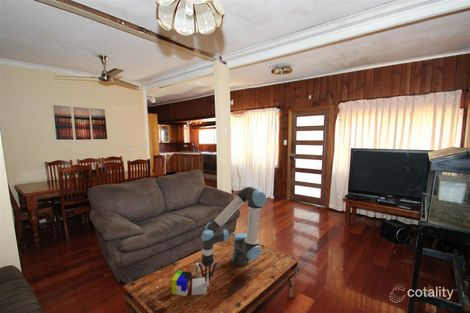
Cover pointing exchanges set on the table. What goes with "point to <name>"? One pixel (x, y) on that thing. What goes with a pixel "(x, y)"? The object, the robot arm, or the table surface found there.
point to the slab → (199, 286)
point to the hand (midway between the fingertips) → (207, 285)
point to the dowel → (197, 270)
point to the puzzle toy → (181, 283)
